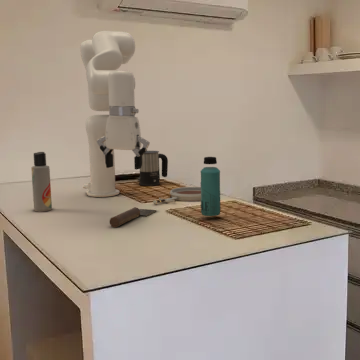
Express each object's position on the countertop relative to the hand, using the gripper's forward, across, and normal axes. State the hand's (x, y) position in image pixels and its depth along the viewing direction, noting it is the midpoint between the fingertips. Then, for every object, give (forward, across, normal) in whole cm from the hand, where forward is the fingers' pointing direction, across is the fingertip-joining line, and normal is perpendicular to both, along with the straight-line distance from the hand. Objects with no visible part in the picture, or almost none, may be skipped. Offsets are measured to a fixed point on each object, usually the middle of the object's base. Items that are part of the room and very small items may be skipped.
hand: (123, 168), depth 152 cm
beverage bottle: (+17, -25, -10) cm, 32 cm away
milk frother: (+18, +24, -66) cm, 73 cm away
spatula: (+17, -1, -3) cm, 17 cm away
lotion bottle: (+18, +34, -5) cm, 39 cm away
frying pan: (+18, -4, -36) cm, 41 cm away
